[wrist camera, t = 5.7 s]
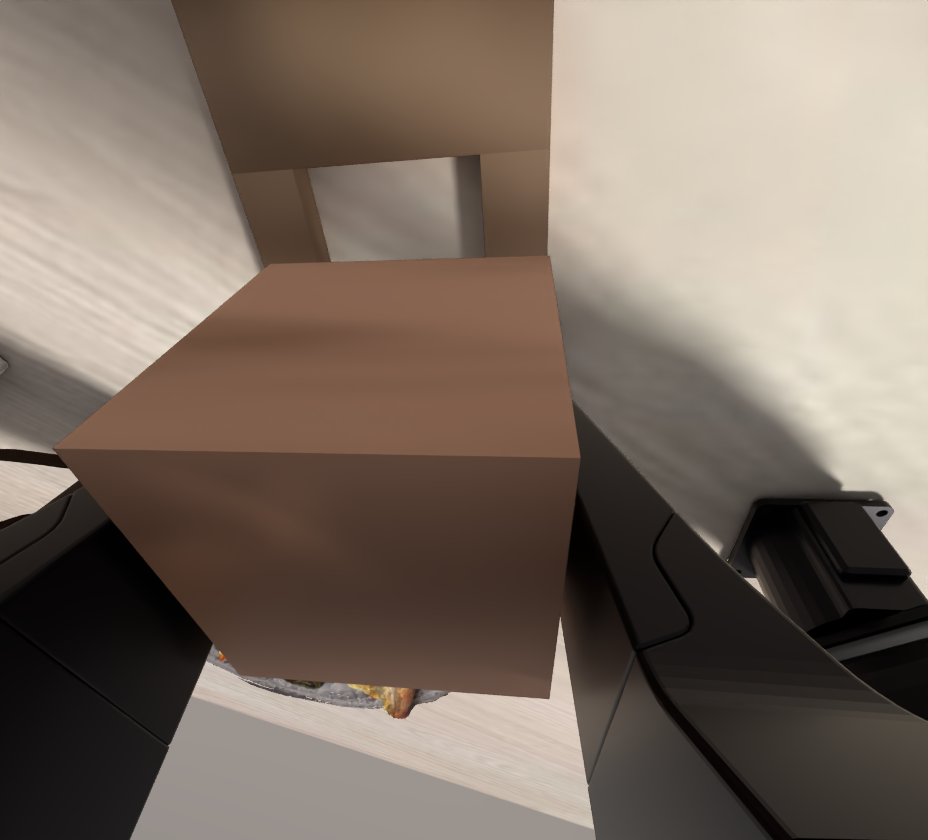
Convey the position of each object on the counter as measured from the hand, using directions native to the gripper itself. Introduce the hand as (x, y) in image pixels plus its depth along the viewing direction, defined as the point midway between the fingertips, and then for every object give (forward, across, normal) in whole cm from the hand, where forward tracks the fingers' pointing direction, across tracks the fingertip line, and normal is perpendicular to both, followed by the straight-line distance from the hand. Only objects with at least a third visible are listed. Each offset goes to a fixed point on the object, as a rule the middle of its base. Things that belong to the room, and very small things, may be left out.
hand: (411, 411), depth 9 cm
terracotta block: (+1, 0, 0) cm, 1 cm away
